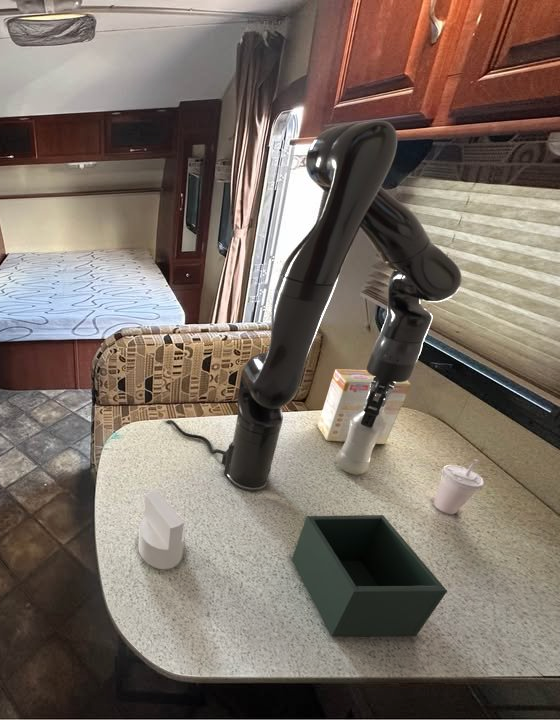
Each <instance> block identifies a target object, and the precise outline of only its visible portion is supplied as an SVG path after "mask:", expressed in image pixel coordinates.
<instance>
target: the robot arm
mask: <svg viewBox="0 0 560 720" xmlns="http://www.w3.org/2000/svg"><path fill="white" fill-rule="evenodd" d="M397 148H398V132H397V131H396V128H395V127H394V125H392V124H391V123H390V122H389V121H385V120H367V121H359V122H351V123H343V124H339V125H338V124H337V125H333V126H332V127H329V128H327V129H326V130H324V131H322V132H321V133H320V134H318V135H317V137H315V139H314V140H312V143H311V144H310V146H309V148H308V150H307V153H306V158H305V166H306V167H305V168H306V171H307V174H308V176H309V177H310V179H311V181H313V182H314V183H315V184H316V185H317V186H318V187H319V188H320V189H322V190H323V191H324V192H325V193H326V194H327V195H326V198H325V201H324V203H323V206H322V209H321V212H320V214H319V216H318V218H317V220H316V223H315V224H314V225H313V226H312V228H311V229H310V230H309V232H308V233H307V234H306V235H305V236H304V237H303V239H302V240H301V241H300V242H299V243H298V245H296V247H295V248H294V249H293V251H292V252H291V253H290V254H289V255H288V257H287V258H286V260H285V262H284V263H283V265H282V268H281V270H280V275H279V277H278V280H277V283H276V286H275V289H274V293H273V297H272V303H271V304H272V305H271V320H270V321H271V322H270V323H271V325H270V327H271V328H270V341H269V345H268V349H267V352H261V353H258V354H255V355H254V356H252V357H251V358H249V359H248V360H247V361H246V363H245V364H244V366H243V368H242V371H241V375H240V379H239V380H240V381H239V387H238V392H237V394H238V395H237V417H236V423H235V428H234V433H233V438H232V442H231V443H230V444H228V448H227V449H226V451H225V450H222V449H218V448H215V449H214V448H213V446H212V444H211V442H210V440H209V439H207V437H205V436H202V435H199V434H191V433H188V432H186V431H184V430H183V429H182V428H181V427H180V426H179V425H178V424H177V423H176V422H175V421H174V420H172V419H168V420H166V421H165V423H166V424H171V425H173V426H174V428H175V429H176V430H177V431H178V432H179V434H181V435H182V436H184V437H187V438H191V439H198V440H202V441H204V442H205V443H206V445H207V448H208V450H209V452H210V453H211V454H212V455H213V454H214V455H215V454H220V455H222V458H221V465H223V466H224V471H223V475H224V476H225V477H227V479H228V481H230V482H231V484H233V485H234V486H235V487H237V488H239V489H241V490H244V491H248V492H259V491H261V490H263V489H265V488H266V487H267V485H268V481H269V477H270V475H271V471H272V470H271V469H272V463H273V460H274V456H275V452H276V449H277V445H278V441H279V437H280V433H281V429H282V426H283V422H284V414H283V409H282V408H283V407H285V406H286V405H288V404H289V403H291V401H293V399H294V398H296V395H297V393H298V391H299V388H300V385H301V382H302V377H303V374H304V370H305V366H306V363H307V359H308V355H309V352H310V349H311V346H312V345H313V342H314V339H315V338H316V335H317V333H318V330H319V327H320V324H321V322H322V320H323V317H324V314H325V312H326V309H327V308H328V305H329V303H330V301H331V298H332V296H333V294H334V291H335V289H336V286H337V283H338V281H339V278H340V275H341V272H342V269H343V267H344V265H345V262H346V259H347V258H348V256H349V253H350V251H351V249H352V246H353V245H354V242H355V239H356V236H357V234H358V232H359V231H360V230H361V231H362V233H363V234H364V235H365V237H366V238H367V239H368V241H369V242H370V243H371V245H372V246H373V248H374V250H375V252H377V254H378V255H379V257H380V259H381V260H382V262H383V263H384V265H386V266H387V267H388V268H390V269H391V270H393V271H392V272H391V275H390V277H389V280H388V285H387V308H386V309H387V313H386V314H387V315H386V317H385V319H384V324H383V325H382V328H381V331H380V333H379V335H378V337H377V339H376V341H375V343H374V345H373V349H372V352H371V355H370V358H369V360H368V363H367V366H366V370H367V371H368V373H369V374H371V375H372V376H374V379H373V381H372V382H371V385H370V391H369V394H368V396H367V399H366V400H367V401H368V402H367V405H366V407H365V409H364V416H363V418H362V421H361V424H362V425H364V426H367V427H370V428H371V427H373V424H374V422H375V419H376V417H377V416H378V415H379V413H380V412H379V411H380V408H381V406H384V405H385V404H386V401H387V399H388V396H389V394H391V393H392V391H393V388H394V386H395V383H396V382H404V381H409V379H410V377H411V375H412V373H413V371H414V369H415V366H416V364H417V361H418V359H419V356H420V355H421V352H422V349H423V343H424V341H425V338H426V336H427V334H428V331H429V330H430V326H431V324H432V321H433V315H432V313H431V312H430V311H428V310H427V309H426V308H425V307H424V306H422V304H421V301H425V302H430V303H439V302H442V301H446V300H448V299H449V298H450V299H451V298H452V297H453V296H454V295H455V294H457V292H458V291H459V289H460V288H461V284H462V279H463V278H462V277H463V276H462V271H461V270H460V267H459V266H458V265H457V264H456V263H455V261H454V260H453V259H452V258H450V257H449V256H448V254H446V253H445V252H444V251H443V250H442V249H441V248H439V247H438V246H437V245H435V244H434V243H433V242H432V241H431V238H430V236H429V235H428V233H427V231H426V230H425V228H424V227H423V225H422V223H421V222H420V220H419V219H418V217H417V216H416V214H414V213H413V212H412V210H410V209H409V208H408V207H407V206H406V205H405V204H404V203H402V202H401V201H400V200H398V199H397V198H395V197H394V196H393V195H392V194H391V193H390V192H388V191H387V190H386V189H384V187H382V186H383V183H384V181H385V179H386V178H387V175H388V174H389V172H390V169H391V167H392V164H393V162H394V159H395V158H396V157H395V156H396V154H397ZM369 406H372V407H375V408H377V409H374V408H371V407H369Z"/></svg>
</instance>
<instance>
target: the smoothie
mask: <svg viewBox="0 0 560 720" xmlns="http://www.w3.org/2000/svg"><path fill="white" fill-rule="evenodd" d="M478 462H479V460H478V459H477V458H474V459H473V460H472V462H471V464H470V465H469V466H468V468H467V467H465V466H461V465H458V464H447V465H445V466H443V468H442V469H441V478H440V481H439V485H438V488H437V491H436V495H435V497H434V500H433V505H434V507H435V508H436V509H438V510H439V511H441V512H442V513H445V514H447V515H455V514H456V513H457V512H458V511H459V510H460V509H461V508H462V507H463V506H464V505H465V504H466V503H467V502H468V501H469V499H471V497H473V495H474V494H475V493H477V491H479V490H481V489H483V487H484V485H485V480H484V479H483V478H482V476H481V475H480V474H478V473H476V472H475V471H473V470H474V469H475V467H476V465H477V463H478Z"/></svg>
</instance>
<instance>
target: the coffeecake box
mask: <svg viewBox="0 0 560 720" xmlns="http://www.w3.org/2000/svg"><path fill="white" fill-rule="evenodd" d="M373 379H374V376H372V375H371V374H369V373H368V371H367V369H346V368H345V369H344V368H342V369H340V368H335V369H334V372H333V375H332V379H331V381H330V385H329V389H328V391H327V395H326V398H325V401H324V404H323V407H322V411H321V414H320V417H319V421H318V424H317V427H318V429H319V431H320V432H321V433H322V435H323V438H324V439H325V441H328V442H331V441H332V442H344V443H345V441H346V439H347V436H348V432H349V426H350V419H351V416H352V415H353V414H354V413H355V412H357V411H359V410H361V409H363V408H362V406H363V405H364V403H365V401H366V399H367V396H368V394H369V391H370V385H371V382H372V381H373ZM411 386H412V384H411V383H410V382H409V380H407V381H404V382H396V383H395V386H394V388H393V391H392V393H391V394H389V396H388V399H387V401H386V404H385V408H384V412H383V414H381V415H382V417H383V419H384V421H385V428H384V430H383V432H382V433H381V434H380V436H379V437H378V439H377V441H376V443H375V445H386V443H387V442H388V439H389V437H390V434H391V432H392V430H393V428H394V426H395V423H396V421H397V418H398V415H399V413H400V411H401V409H402V406H403V405H404V401H405V399H406V397H407V395H408V392H409V390H410V387H411Z"/></svg>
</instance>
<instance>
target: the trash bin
mask: <svg viewBox="0 0 560 720" xmlns="http://www.w3.org/2000/svg"><path fill="white" fill-rule="evenodd" d="M291 562H292V563H293V566H294V567H295V569H296V571H297V573H298V575H299V577H300V579H301V582H302V583H303V585H304V587H305V589H306V590H307V593H308V594H309V596H310V598H311V600H312V602H313V604H314V606H315V608H316V610H317V612H318V614H319V615H320V618H321V619H322V621H323V623H324V625H325V628H326V629H327V631H328V633H329V635H330V636H331V638H332V637H333V638H337V637H340V638H342V637H343V638H344V637H347V638H349V637H351V638H352V637H353V638H355V637H357V638H358V637H359V638H360V637H369V638H371V637H373V638H374V637H376V638H379V637H381V638H382V637H405V638H406V637H409V638H410V637H417V636H418V634H419V633H420V631H421V630H422V628H423V627H424V625H425V624H426V623H427V622H428V620H429V618H430V617H431V616H432V614H433V613H434V611H435V610H436V608H437V607H438V606H439V604H440V603H441V602H442V600H443V598H444V597H445V595H446V594H447V593H448V590H447V588H446V587H445V586H444V585H443V583H441V581H440V580H439V579H438V578H437V577H436V575H435V574H434V573H433V572H432V571H431V570H430V568H429V567H428V566H427V565H426V564H425V562H424V561H423V560H422V559H421V558H420V557H419V556H418V554H417V553H416V551H414V550H413V549H412V547H411V546H410V545H409V544H408V542H407V541H406V540H405V539H404V538H403V536H402V535H401V533H399V532H398V530H397V529H396V528H395V527H394V526H393V525H392V524H391V522H390V521H389V520H388V519H387V518H386V517H385V515H383V514H362V515H361V514H359V515H357V514H355V515H306V517H305V519H304V522H303V525H302V528H301V531H300V534H299V537H298V539H297V542H296V546H295V548H294V551H293V554H292V556H291Z"/></svg>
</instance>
